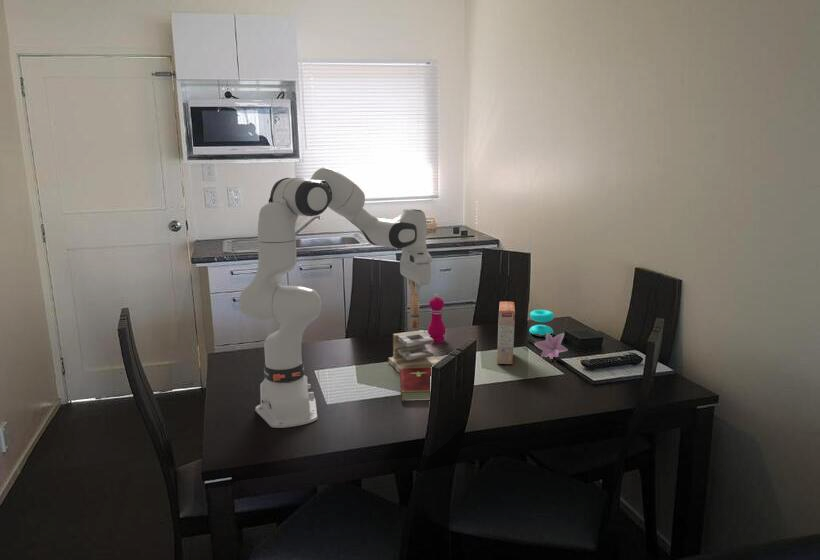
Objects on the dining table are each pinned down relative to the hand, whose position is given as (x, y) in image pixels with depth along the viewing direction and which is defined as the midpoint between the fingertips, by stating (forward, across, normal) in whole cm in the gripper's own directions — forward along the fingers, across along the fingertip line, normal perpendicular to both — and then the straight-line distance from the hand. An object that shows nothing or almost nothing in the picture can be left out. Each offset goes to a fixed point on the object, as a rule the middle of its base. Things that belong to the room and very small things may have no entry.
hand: (414, 292), depth 225 cm
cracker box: (+28, +7, +34) cm, 45 cm away
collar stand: (+28, 0, 0) cm, 28 cm away
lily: (+28, +13, +50) cm, 59 cm away
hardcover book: (+29, +20, -7) cm, 36 cm away
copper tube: (+13, 0, 0) cm, 13 cm away
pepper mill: (+28, -23, +19) cm, 41 cm away
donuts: (+28, -13, +63) cm, 70 cm away
